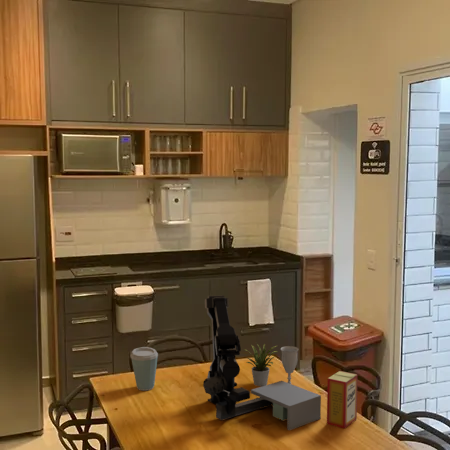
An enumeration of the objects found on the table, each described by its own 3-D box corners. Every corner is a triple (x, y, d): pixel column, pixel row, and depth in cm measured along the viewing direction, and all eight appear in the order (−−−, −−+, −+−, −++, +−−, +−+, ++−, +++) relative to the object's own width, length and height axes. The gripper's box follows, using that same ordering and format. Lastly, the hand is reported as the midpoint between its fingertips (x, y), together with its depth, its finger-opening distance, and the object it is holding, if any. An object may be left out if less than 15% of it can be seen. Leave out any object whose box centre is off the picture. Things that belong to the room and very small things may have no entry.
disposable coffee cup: (163, 389, 239) (163, 351, 237) (138, 395, 233) (137, 356, 231) (150, 381, 248) (150, 344, 246) (126, 386, 242) (125, 349, 240)
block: (272, 416, 214) (273, 402, 213) (283, 412, 217) (283, 398, 216) (282, 420, 210) (283, 406, 209) (293, 417, 213) (293, 403, 212)
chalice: (297, 399, 228) (297, 352, 227) (278, 398, 230) (279, 351, 228) (298, 392, 236) (299, 346, 234) (281, 391, 237) (281, 345, 235)
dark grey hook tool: (215, 417, 210) (216, 403, 210) (269, 402, 226) (270, 388, 226) (232, 425, 204) (232, 411, 203) (286, 409, 219) (286, 395, 219)
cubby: (250, 412, 216) (250, 389, 216) (281, 402, 226) (281, 380, 225) (289, 430, 202) (289, 406, 201) (320, 418, 211) (320, 395, 210)
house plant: (287, 382, 247) (288, 342, 245) (271, 393, 235) (271, 351, 234) (256, 376, 254) (257, 337, 253) (239, 385, 243) (239, 345, 241)
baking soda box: (344, 428, 203) (345, 381, 202) (326, 423, 207) (327, 377, 206) (356, 419, 211) (357, 373, 210) (339, 414, 215) (339, 369, 213)
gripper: (190, 366, 212) (190, 410, 213) (225, 381, 197) (224, 428, 199) (216, 359, 219) (216, 402, 220) (251, 373, 204) (250, 419, 206)
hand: (226, 412), depth 211 cm, fingers closed on dark grey hook tool, 3 cm apart
